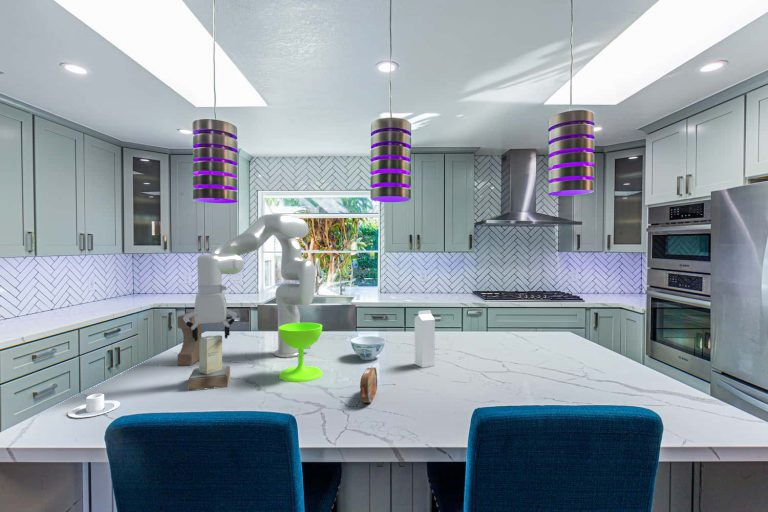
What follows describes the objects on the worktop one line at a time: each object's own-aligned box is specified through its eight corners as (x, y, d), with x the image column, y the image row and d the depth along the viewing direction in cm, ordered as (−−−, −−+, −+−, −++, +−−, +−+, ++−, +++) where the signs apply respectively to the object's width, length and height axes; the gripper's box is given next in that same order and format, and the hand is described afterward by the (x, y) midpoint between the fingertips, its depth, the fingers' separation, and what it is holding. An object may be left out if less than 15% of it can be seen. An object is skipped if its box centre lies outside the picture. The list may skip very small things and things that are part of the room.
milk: (414, 363, 155) (414, 310, 155) (427, 362, 157) (426, 309, 157) (422, 367, 149) (422, 312, 149) (435, 365, 152) (434, 311, 152)
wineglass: (331, 374, 141) (331, 326, 141) (294, 385, 129) (294, 333, 129) (306, 365, 152) (306, 321, 152) (270, 375, 140) (270, 326, 140)
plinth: (229, 375, 140) (229, 364, 140) (227, 386, 128) (227, 374, 128) (193, 379, 136) (193, 368, 136) (188, 390, 124) (188, 378, 124)
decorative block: (191, 365, 152) (191, 316, 152) (176, 366, 151) (176, 316, 151) (202, 358, 163) (202, 311, 163) (188, 358, 162) (188, 312, 162)
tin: (369, 407, 111) (369, 379, 111) (358, 406, 112) (358, 378, 112) (378, 389, 126) (378, 364, 126) (368, 388, 127) (368, 363, 127)
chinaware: (391, 356, 166) (391, 338, 166) (372, 364, 153) (372, 345, 153) (363, 351, 174) (364, 334, 174) (343, 359, 161) (343, 341, 161)
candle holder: (103, 419, 104) (103, 403, 104) (56, 421, 103) (56, 405, 103) (128, 402, 116) (128, 388, 116) (87, 403, 115) (86, 389, 115)
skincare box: (206, 374, 128) (206, 339, 128) (198, 372, 131) (198, 337, 130) (222, 369, 134) (222, 335, 133) (215, 367, 136) (215, 334, 136)
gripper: (237, 287, 138) (238, 334, 139) (184, 290, 133) (185, 338, 133) (236, 290, 131) (237, 339, 132) (180, 292, 125) (181, 344, 126)
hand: (211, 338), depth 132 cm, fingers open, 9 cm apart
